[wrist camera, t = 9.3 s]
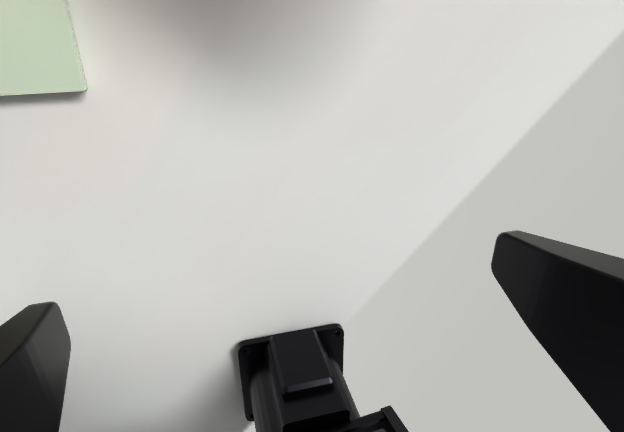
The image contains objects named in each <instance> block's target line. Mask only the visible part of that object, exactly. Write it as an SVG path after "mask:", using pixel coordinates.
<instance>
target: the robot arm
mask: <svg viewBox="0 0 624 432" xmlns="http://www.w3.org/2000/svg"><path fill="white" fill-rule="evenodd" d="M491 268H492V272H493V275H494V277H495V278H496V280H497V281H498V283H499V284H500V286H501V287H502V289H503V290H504V292H505V293H506V295H507V296H508V298H509V300H510V301H511V303H512V304H513V306H514V307H515V309H516V310H517V312H518V313H519V315H520V316H521V318H522V320H523V321H524V323H525V324H526V325H527V327H528V328H529V330H530V331H531V332H532V334H533V335H534V336H535V338H536V339H537V340H538V341H539V343H540V344H541V345H542V346H543V348H544V349H545V350H546V351H547V353H548V354H549V355H550V356H551V358H552V359H553V360H554V362H555V363H556V364H557V365H558V366H559V368H560V369H561V370H562V372H563V373H564V374H565V375H566V377H567V378H568V379H569V380H570V382H571V383H572V384H573V385H574V387H575V388H576V389H577V390H578V392H579V393H580V394H581V395H582V397H583V398H584V399H585V400H586V402H587V403H588V404H589V405H590V407H591V408H592V409H593V410H594V412H595V413H596V414H597V415H598V417H599V418H600V419H601V420H602V422H603V423H604V424H605V425H606V427H607V428H608V429H609V430H610V432H624V259H622V258H619V257H615V256H611V255H607V254H604V253H600V252H596V251H592V250H589V249H585V248H581V247H577V246H574V245H570V244H567V243H563V242H559V241H555V240H552V239H548V238H544V237H540V236H537V235H533V234H529V233H526V232H522V231H509V232H503V233H501V234H499V235H498V237H497V239H496V244H495V248H494V253H493V258H492V263H491ZM335 331H337V332H336V333H333V332H335ZM343 346H344V331H343V329H342V327H341V325H340V324H329V325H324V326H319V327H313V328H308V329H303V330H297V331H292V332H287V333H282V334H276V335H271V336H266V337H260V338H255V339H250V340H245V341H242V342H241V343H239V345H238V347H237V350H238V358H239V366H240V374H241V383H242V391H243V399H244V407H245V415H246V419H247V420H248V421H254V422H255V428H256V432H408V430H407V429H406V427H405V426H404V424H403V423H402V421H401V420H400V419H399V417H398V416H397V414H396V413H395V412H394V410H393V408H392V407H391V406H387V407H384V408H381V411H378V412H375V413H372V414H369V415H366V416H363V417H360V415H359V413H358V411H357V408H356V406H355V403H354V401H353V399H352V396H351V394H350V392H349V389H348V387H347V384H346V382H345V380H344V377H343ZM245 348H249V349H248V350H244V349H245ZM70 351H71V341H70V336H69V333H68V330H67V327H66V324H65V321H64V319H63V316H62V313H61V310H60V307H59V306H58V304H57V303H55V302H45V303H38V304H32V305H29V306H27V307H26V308H24V309H23V310H22V311H20V312H19V313H18V314H16V315H15V316H13V317H12V318H11V319H9V320H8V321H7V322H5V323H4V324H2V325H1V326H0V432H58V431H59V426H60V420H61V414H62V407H63V400H64V393H65V386H66V379H67V372H68V365H69V358H70Z"/></svg>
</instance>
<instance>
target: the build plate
mask: <svg viewBox="0 0 624 432" xmlns="http://www.w3.org/2000/svg"><path fill="white" fill-rule="evenodd" d="M86 89H87V84H86V80H85V76H84V71H83V67H82V63H81V59H80V55H79V51H78V46H77V42H76V38H75V34H74V30H73V26H72V22H71V17H70V13H69V9H68V5H67V1H66V0H0V96H5V95H22V94H40V93H58V92H75V91H85V90H86Z"/></svg>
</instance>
